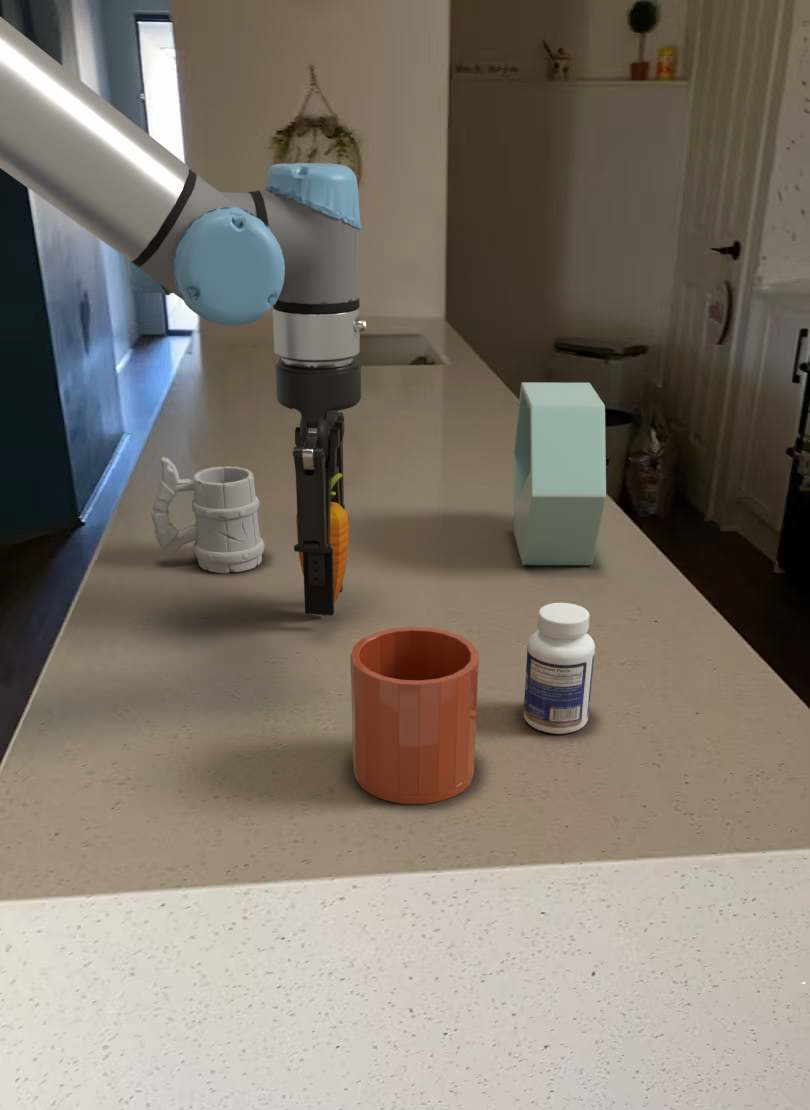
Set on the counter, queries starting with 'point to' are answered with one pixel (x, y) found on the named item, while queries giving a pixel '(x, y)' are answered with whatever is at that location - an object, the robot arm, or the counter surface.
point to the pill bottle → (559, 670)
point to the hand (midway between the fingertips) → (324, 600)
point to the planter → (559, 473)
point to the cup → (414, 714)
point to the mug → (212, 517)
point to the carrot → (336, 540)
